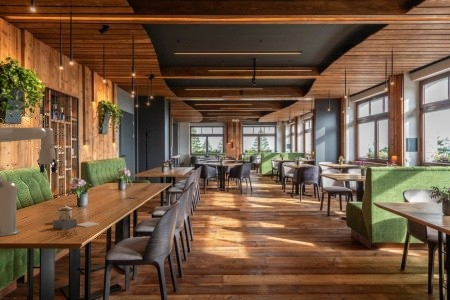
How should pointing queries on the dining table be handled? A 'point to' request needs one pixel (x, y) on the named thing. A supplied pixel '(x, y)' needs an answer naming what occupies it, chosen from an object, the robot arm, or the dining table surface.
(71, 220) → the eye block
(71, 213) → the teacup with lid
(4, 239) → the dining table surface
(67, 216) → the peg
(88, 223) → the tile
